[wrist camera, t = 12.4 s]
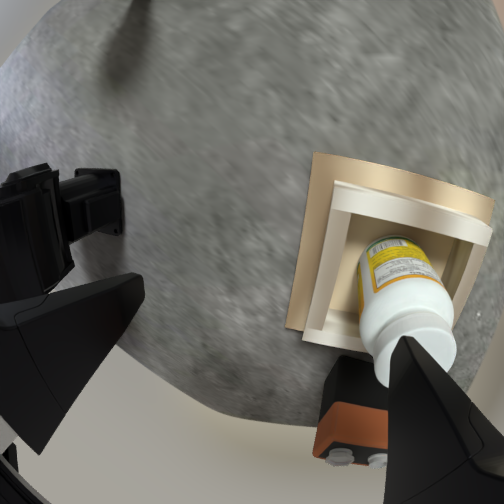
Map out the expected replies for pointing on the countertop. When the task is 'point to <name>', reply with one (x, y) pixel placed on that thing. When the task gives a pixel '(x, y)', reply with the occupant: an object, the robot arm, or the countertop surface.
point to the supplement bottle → (402, 303)
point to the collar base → (371, 228)
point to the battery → (353, 416)
